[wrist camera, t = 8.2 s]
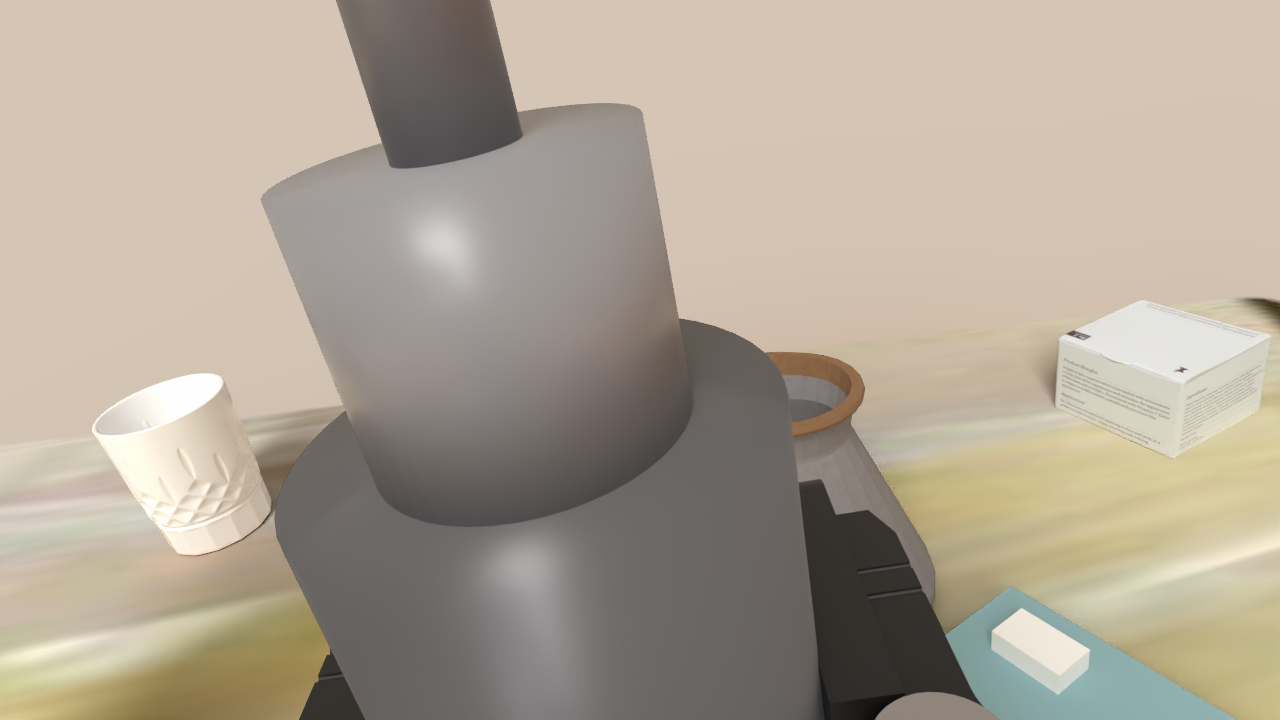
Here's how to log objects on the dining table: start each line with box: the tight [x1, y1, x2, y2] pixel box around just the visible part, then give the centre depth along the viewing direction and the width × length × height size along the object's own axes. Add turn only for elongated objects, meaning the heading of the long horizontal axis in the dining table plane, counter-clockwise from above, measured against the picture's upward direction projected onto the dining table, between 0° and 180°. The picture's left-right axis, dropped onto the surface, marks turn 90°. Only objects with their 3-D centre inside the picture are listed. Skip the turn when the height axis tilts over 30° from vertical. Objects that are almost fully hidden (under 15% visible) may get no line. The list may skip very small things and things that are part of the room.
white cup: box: [92, 373, 271, 556], centre depth 53 cm, size 8×8×10 cm
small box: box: [1055, 300, 1272, 459], centre depth 47 cm, size 8×8×5 cm
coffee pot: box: [766, 352, 935, 606], centre depth 35 cm, size 21×12×15 cm, turn 93°
